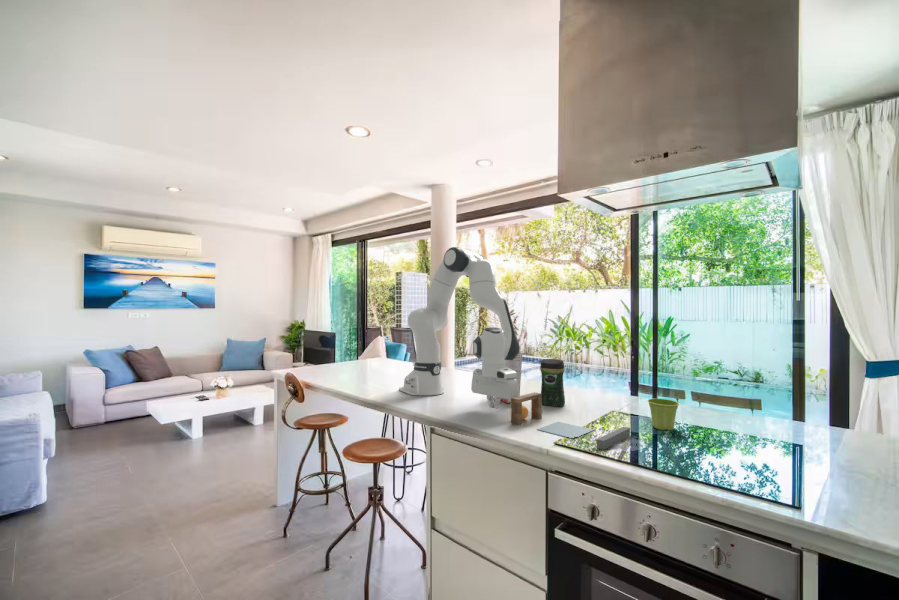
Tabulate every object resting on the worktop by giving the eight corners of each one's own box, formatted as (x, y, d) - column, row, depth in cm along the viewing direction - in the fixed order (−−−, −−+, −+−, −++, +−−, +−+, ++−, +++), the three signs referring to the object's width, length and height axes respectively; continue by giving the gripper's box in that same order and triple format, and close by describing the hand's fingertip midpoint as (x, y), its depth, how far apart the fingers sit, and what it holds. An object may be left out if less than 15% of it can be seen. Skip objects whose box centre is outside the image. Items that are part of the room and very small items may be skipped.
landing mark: (536, 429, 133) (536, 429, 133) (558, 422, 142) (558, 421, 142) (573, 439, 124) (573, 438, 124) (593, 430, 133) (593, 429, 133)
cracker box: (492, 396, 181) (495, 348, 182) (504, 396, 183) (507, 349, 184) (506, 403, 168) (510, 352, 169) (519, 403, 170) (523, 352, 171)
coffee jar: (566, 403, 169) (566, 358, 170) (562, 408, 162) (562, 360, 163) (543, 401, 174) (543, 357, 174) (538, 405, 167) (538, 359, 167)
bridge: (511, 423, 140) (511, 398, 140) (534, 416, 149) (534, 392, 150) (518, 425, 138) (518, 399, 138) (541, 417, 147) (541, 393, 147)
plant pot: (684, 428, 135) (684, 402, 135) (671, 434, 129) (671, 406, 129) (655, 422, 142) (655, 397, 143) (642, 427, 137) (642, 401, 137)
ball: (512, 421, 145) (509, 407, 146) (521, 418, 148) (518, 404, 149) (524, 420, 141) (521, 405, 142) (532, 417, 145) (529, 403, 146)
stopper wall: (596, 448, 116) (596, 439, 116) (623, 434, 128) (623, 426, 128) (603, 449, 114) (603, 440, 114) (630, 436, 127) (630, 427, 127)
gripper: (467, 369, 160) (467, 404, 159) (509, 375, 145) (510, 414, 145) (478, 367, 164) (478, 402, 164) (520, 373, 149) (520, 411, 149)
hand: (493, 408), depth 154 cm, fingers closed
